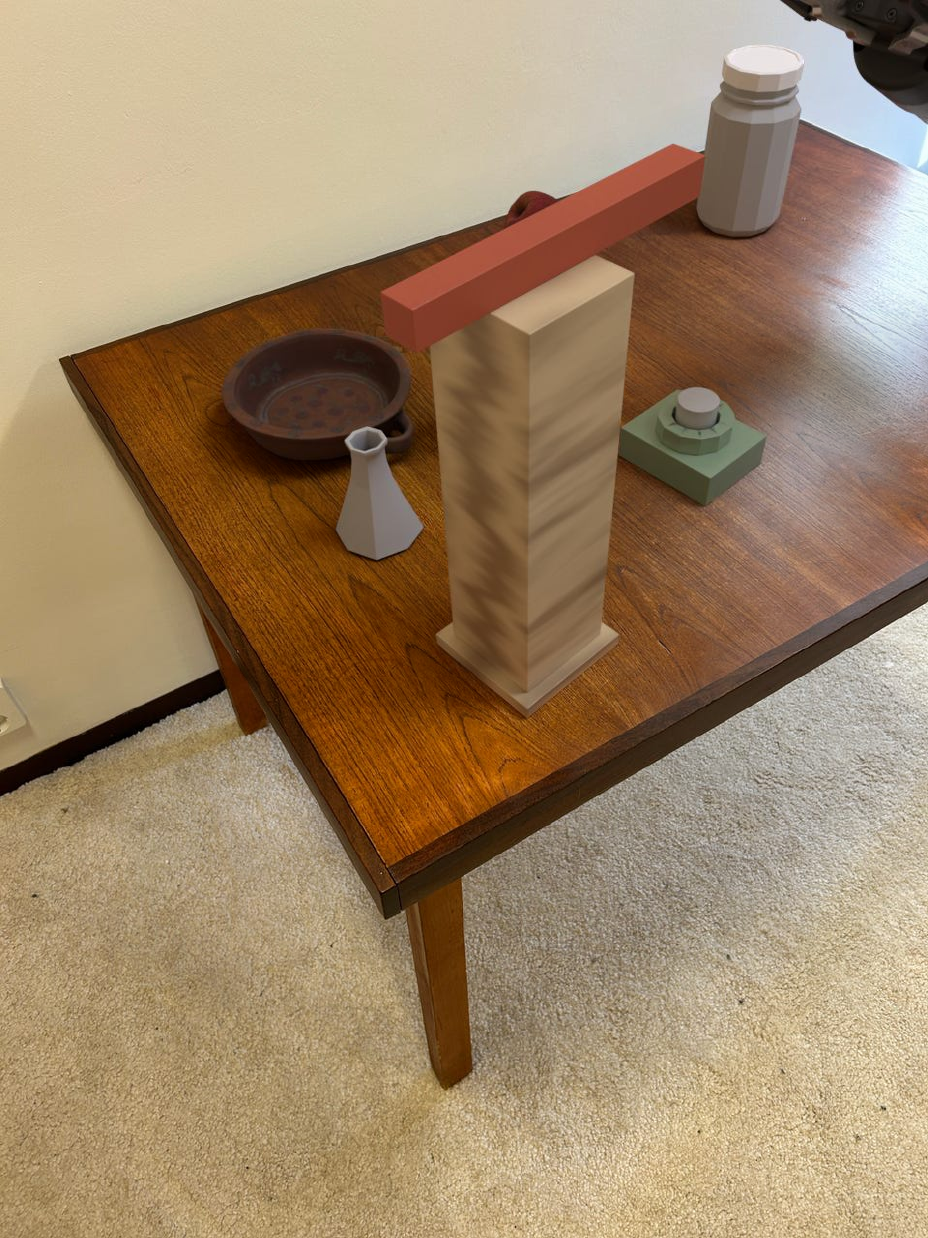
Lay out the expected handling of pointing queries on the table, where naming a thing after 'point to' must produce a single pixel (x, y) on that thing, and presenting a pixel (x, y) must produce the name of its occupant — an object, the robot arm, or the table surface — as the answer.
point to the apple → (528, 206)
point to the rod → (538, 248)
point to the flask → (374, 501)
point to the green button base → (691, 450)
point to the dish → (320, 392)
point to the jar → (750, 140)
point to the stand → (532, 479)
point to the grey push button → (697, 408)
